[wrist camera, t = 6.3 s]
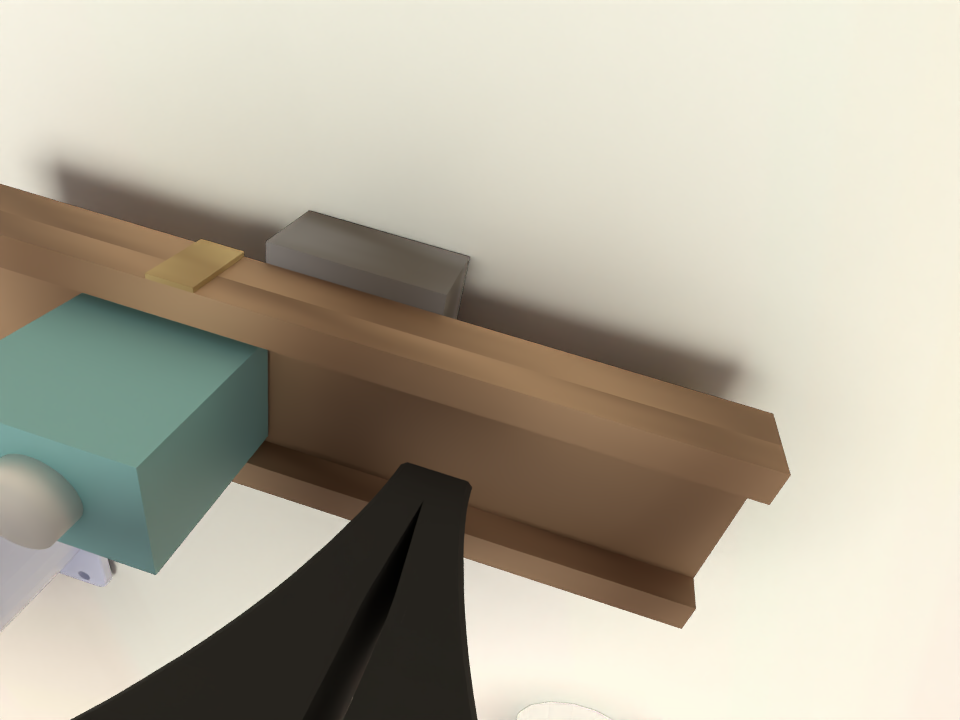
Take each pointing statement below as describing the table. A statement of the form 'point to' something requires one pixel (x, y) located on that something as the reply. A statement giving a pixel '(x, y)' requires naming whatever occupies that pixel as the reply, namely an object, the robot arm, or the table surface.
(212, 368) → the rider
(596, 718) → the beverage cup
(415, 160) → the table surface
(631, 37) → the table surface
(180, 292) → the beam
